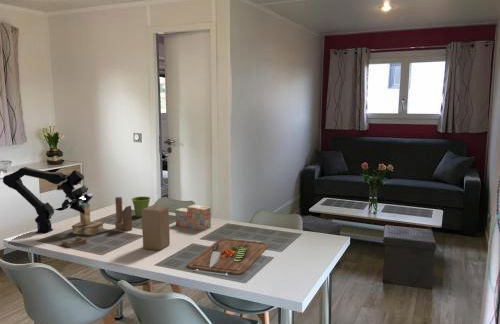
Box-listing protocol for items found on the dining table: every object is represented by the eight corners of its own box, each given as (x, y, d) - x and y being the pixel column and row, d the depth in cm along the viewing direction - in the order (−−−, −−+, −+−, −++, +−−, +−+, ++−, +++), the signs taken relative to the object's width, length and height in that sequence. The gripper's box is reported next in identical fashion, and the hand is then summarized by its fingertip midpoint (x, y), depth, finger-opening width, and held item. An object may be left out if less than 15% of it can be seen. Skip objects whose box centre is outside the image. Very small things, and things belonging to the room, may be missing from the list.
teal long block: (80, 224, 229) (79, 204, 228) (85, 222, 233) (84, 203, 231) (85, 224, 228) (84, 205, 227) (90, 223, 231) (89, 203, 230)
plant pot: (128, 217, 262) (128, 200, 260) (137, 213, 274) (136, 196, 272) (146, 218, 260) (146, 200, 258) (154, 213, 272) (153, 196, 270)
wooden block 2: (127, 231, 233) (125, 200, 231) (115, 228, 240) (113, 197, 237) (132, 229, 236) (131, 198, 234) (120, 226, 243) (119, 196, 240)
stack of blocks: (175, 225, 245) (174, 204, 244) (182, 222, 251) (181, 202, 249) (204, 230, 234) (204, 209, 233) (211, 227, 240) (210, 206, 238)
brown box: (71, 234, 229) (70, 226, 228) (82, 228, 239) (81, 221, 238) (93, 235, 226) (93, 227, 226) (104, 230, 236) (103, 222, 236)
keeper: (61, 244, 212) (61, 240, 212) (77, 240, 219) (77, 236, 219) (70, 247, 207) (70, 243, 207) (86, 243, 214) (86, 239, 214)
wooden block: (170, 244, 211) (169, 206, 208) (160, 251, 201) (158, 210, 199) (153, 242, 214) (151, 204, 211) (142, 249, 205) (140, 209, 202)
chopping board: (240, 279, 170) (240, 271, 169) (181, 270, 179) (181, 264, 178) (271, 244, 212) (271, 238, 211) (222, 239, 221) (222, 233, 220)
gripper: (64, 184, 220) (82, 206, 218) (89, 178, 237) (106, 199, 235) (53, 197, 224) (71, 219, 221) (79, 191, 241) (95, 211, 239)
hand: (86, 212), depth 229 cm, fingers closed on teal long block, 4 cm apart
